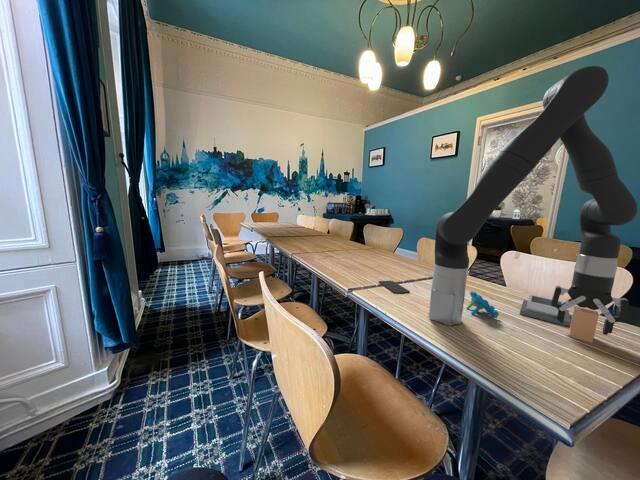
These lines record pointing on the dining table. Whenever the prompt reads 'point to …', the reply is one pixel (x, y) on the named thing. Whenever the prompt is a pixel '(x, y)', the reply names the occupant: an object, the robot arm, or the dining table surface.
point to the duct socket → (543, 310)
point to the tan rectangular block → (583, 323)
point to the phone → (394, 287)
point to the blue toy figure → (481, 304)
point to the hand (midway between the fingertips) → (582, 327)
